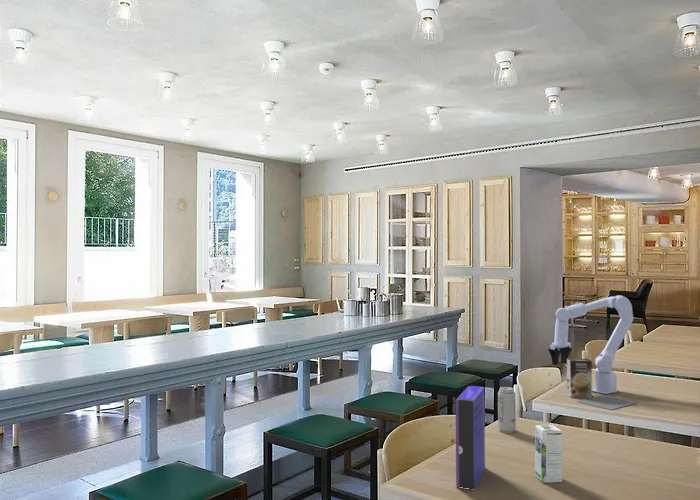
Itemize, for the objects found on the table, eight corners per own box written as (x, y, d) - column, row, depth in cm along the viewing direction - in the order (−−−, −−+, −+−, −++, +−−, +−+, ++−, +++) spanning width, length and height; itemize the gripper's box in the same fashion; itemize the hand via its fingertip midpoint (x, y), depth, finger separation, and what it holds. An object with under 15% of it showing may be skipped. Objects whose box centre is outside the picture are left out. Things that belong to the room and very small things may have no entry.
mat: (603, 395, 257) (603, 395, 257) (636, 403, 244) (636, 402, 244) (577, 401, 247) (577, 401, 247) (610, 410, 234) (610, 409, 234)
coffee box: (570, 398, 254) (570, 360, 254) (566, 394, 260) (566, 358, 260) (592, 398, 253) (592, 361, 253) (587, 394, 260) (587, 358, 260)
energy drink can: (516, 433, 206) (516, 390, 206) (498, 432, 207) (498, 390, 207) (515, 428, 212) (514, 386, 212) (497, 427, 213) (497, 386, 213)
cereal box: (468, 465, 176) (468, 385, 176) (485, 467, 174) (484, 386, 174) (456, 487, 160) (455, 399, 160) (473, 490, 158) (473, 400, 158)
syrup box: (534, 475, 168) (533, 424, 168) (554, 474, 168) (553, 423, 168) (542, 483, 162) (542, 430, 162) (563, 482, 162) (562, 430, 162)
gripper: (561, 331, 278) (559, 360, 278) (544, 333, 268) (542, 363, 268) (575, 334, 272) (573, 363, 272) (558, 336, 263) (557, 366, 263)
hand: (559, 363), depth 270 cm, fingers open, 7 cm apart
